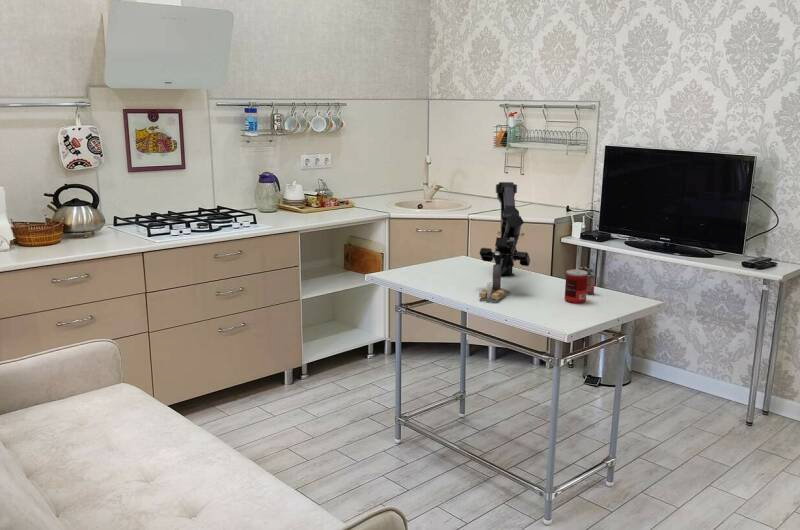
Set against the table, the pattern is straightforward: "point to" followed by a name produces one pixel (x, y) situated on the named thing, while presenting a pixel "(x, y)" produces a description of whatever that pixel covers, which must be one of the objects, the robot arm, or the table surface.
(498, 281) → the wooden base with post
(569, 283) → the canned food
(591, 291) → the lighter
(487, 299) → the rail
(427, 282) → the table surface
